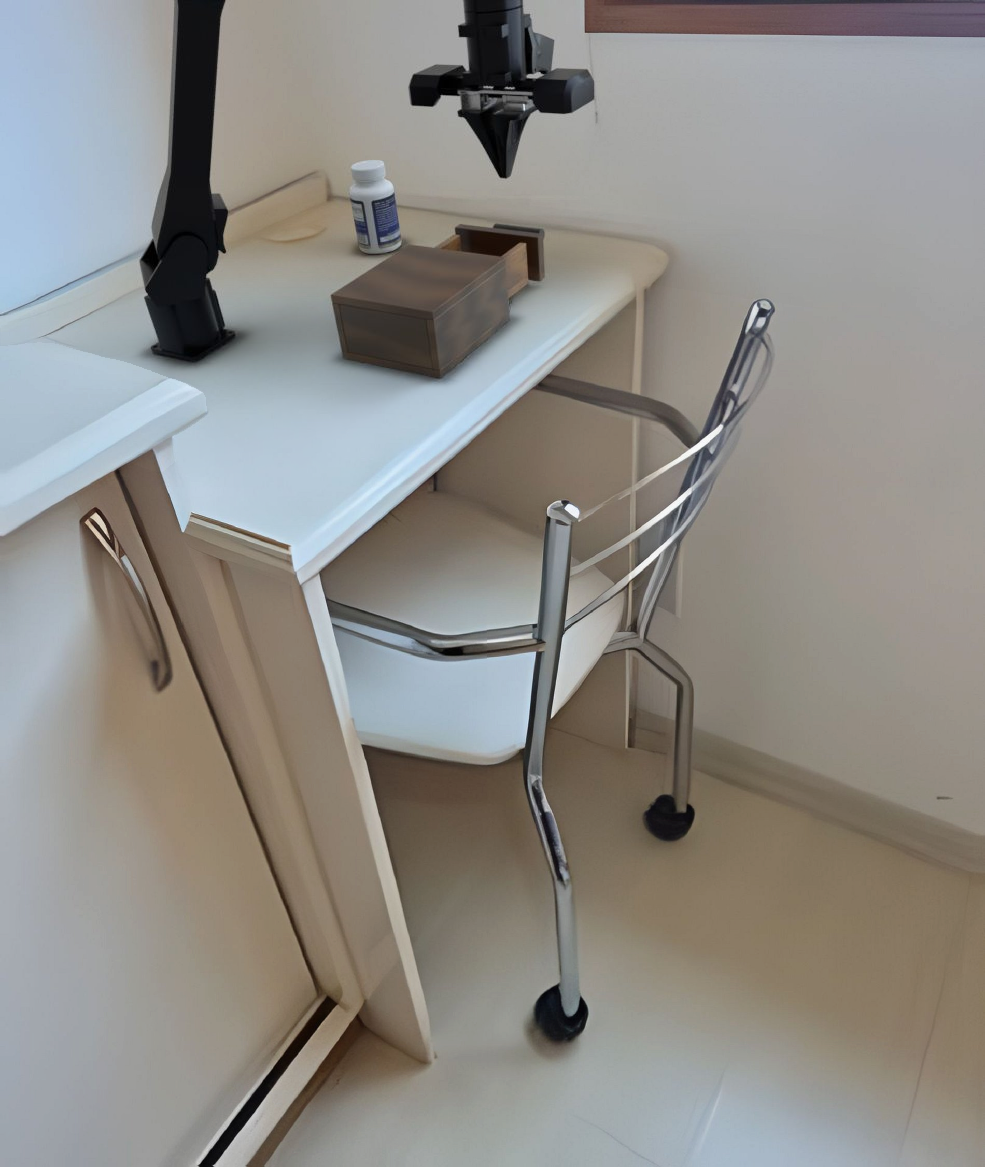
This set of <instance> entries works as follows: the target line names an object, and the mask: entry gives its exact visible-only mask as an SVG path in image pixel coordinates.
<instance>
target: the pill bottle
mask: <svg viewBox="0 0 985 1167" xmlns="http://www.w3.org/2000/svg"><path fill="white" fill-rule="evenodd" d="M350 170H351V172H350V173H351V177H352V180H353V181H354V183H353V184H352V185H351V186H350V188H349V199H350V205H351V211H352V217H353V221H354V228H355V233H356V240H357V243H358V248H359V250H360V251H361V252H363V253H365V254H368V255H369V254H370V255H377V254H386V253H390V252H393V251H395V250H397V249H399V248H400V247H401V245H402V241H403V240H402V233H401V228H400V227H401V226H400V220H399V213H398V206H397V201H396V193H395V187H394V185H393V183H392V182H391V181H390V180H388V179H386V178H385V177H386V175H387V174H386V173H387V172H386V165H385V162H384V161H383V160H379V159H367V160H362V161H358V162H355V163H354V164H352V165H351V166H350Z"/></svg>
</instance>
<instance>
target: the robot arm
mask: <svg viewBox="0 0 985 1167" xmlns="http://www.w3.org/2000/svg"><path fill="white" fill-rule="evenodd" d="M225 3H226V0H173V24H172V25H173V26H172V27H173V28H172V47H171V49H172V50H171V70H170V71H171V72H170V94H169V95H170V96H169V115H168V116H169V117H168V118H169V120H168V138H167V140H168V143H167V161H166V162H167V164H166V168H165V173H164V175H163V178H162V180H161V181H162V182H161V185H160V187H159V192H158V193H157V194H158V195H157V198H156V203H155V207H154V210H153V211H154V212H153V216H152V220H151V226H150V227H151V234H152V238H151V240H150V242H149V243H148V245H147V246H146V248H145V249H144V252H143V254H142V255H141V256H140V258H139V262H138V263H139V267H140V268H139V269H140V273H141V276H142V283H143V287H144V291H145V293H146V294H147V295H145V296H144V297H143V299H144V302H145V305H146V308H147V311H148V315H149V317H150V320H151V324H152V326H153V329H154V332H155V335H156V338H157V341H158V342H156V343H155V344H153V345H151V346H150V350H151V352H152V353H154V354H159V355H163V356H168V357H172V358H177V359H181V360H185V361H189V362H190V361H191V362H196V361H198V360H200V359H202V358H204V357H205V356H207V355H208V354H210V353H211V352H213V351H215V350H216V349H218V348H220V347H221V346H223V345H225V344H227V343H228V342H229V341H231V340H232V339H234V338H236V337H237V334H236V331H235V330H232V329H227V328H226V323H225V319H224V315H223V312H222V308H221V305H220V302H219V297H218V295H217V290H215V289H213V285H212V283H211V279H210V277H207V275H208V274H210V273H211V272H212V271H214V270H215V269H216V266H217V265H218V260H219V256H220V253H222V254H223V255H225V254H226V253H227V249H226V247H225V246H226V245H225V242H224V240H225V238H224V236H225V235H224V234H225V229H226V227H227V226H226V225H227V223H228V222H227V221H228V217H229V210H228V208H227V205H226V203H225V201H224V199H223V196H222V195H221V193H212V188H211V169H212V168H211V167H212V154H213V137H214V124H215V123H214V122H215V107H216V95H217V94H216V92H217V81H218V80H217V78H218V65H219V64H218V63H219V50H220V49H219V48H220V35H221V22H222V21H221V19H222V14H223V10H224V7H225ZM462 3H463V16H464V17H463V18H464V22H463V23H460V24H458V25H457V30H458V31H457V32H458V38H466V40H465V41H466V49H467V62H468V70H467V69H466V68H465V66H464V65H462V64H438V63H436V64H434V65H431V66H429V67H426V68H424V69H422V70H419V71H418V72H415V73H413V74H412V76H411V78H410V80H409V83H408V87H407V89H408V96H409V104H410V106H411V107H427V108H433V107H435V106H436V105H437V104H438V103H439V101H440V100H441V98H442V96H445V97H446V96H448V97H459V100H460V101H459V102H460V109H458V110H457V117H458V118H463V119H465V121H466V123H467V124H468V125H469V127H470V129H471V130H472V132H473V133H474V135H475V136H476V138H477V139H478V141H479V142H480V144H481V146H482V148H483V149H484V152H485V153H486V155H487V157H488V159H489V160H490V162H491V165H493V168H494V170H495V172H496V173H497V175H498V177H499V179H505V180H506V179H509V178H510V177H511V176H512V173H513V168H514V164H515V161H516V157H517V153H518V150H519V146H520V141H521V138H522V134H523V132H524V130H525V127H526V124H527V121H528V120H529V118H530V116H531V114H533V113H535V112H536V111H538V112H539V113H540V114H552V115H553V114H557V115H566V114H568V115H569V114H573V113H574V112H576V111H578V110H579V109H581V108H583V107H585V106H587V105H588V104H589V103H592V102H593V101H595V80H594V77H592V74H591V73H590V71H589V69H588V68H561V67H557V68H554V69H552V68H553V58H554V49H555V48H554V47H555V39H554V38H551V37H548V36H546V35H544V34H541V33H538V32H534V30H533V20H532V18H531V13H524V12H525V11H524V0H462ZM537 73H539V74H541V75H540V76H539V77H537V78H536V77H528V76H529V75H535V74H537Z"/></svg>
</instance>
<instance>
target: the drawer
mask: <svg viewBox="0 0 985 1167" xmlns="http://www.w3.org/2000/svg"><path fill="white" fill-rule="evenodd" d="M545 234H546V232H545V229H544V228H541V227H531V226H530V227H529V226H522V225H513V224H504V223H494V224H493V226H492V227H489V226H480V225H471V224H463V223H460V224H458V225H457V226H455V227H454V234H452V235H450V236H449V237H447V238H446V239H445V240H444V241H442V242H440V243H439V244H437V245H436V246H434V247H433V248H439V249H447V250H454V251H462V252H469V253H477V254H484V255H492V256H499V257H505V258H506V272H507V286H508V300H509V299H510V298H512V297H513V296H514V295H516V294H517V293H518V292H519V291H520V290H522V289H523V288H524V287H525V286H527V284H529V281H534V282H542V281H543V280H545V278H546V269H545V246H544V239H545Z"/></svg>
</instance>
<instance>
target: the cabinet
mask: <svg viewBox="0 0 985 1167" xmlns="http://www.w3.org/2000/svg"><path fill="white" fill-rule="evenodd" d="M330 299H331V305H332V310H333V315H334V319H335V325H336V330H337V335H338V340H339V345H340V349H341V355H342V359H345V360H349V361H355V362H358V363H364V364H369V365H375V366H378V367H383V368H389V369H392V370H393V369H394V370H398V371H403V372H408V373H414V374H417V375H423V376H428V377H432V378H437V379H442V378H443V377H444V376H445V375H446V374H448V373H449V372H450V371H451V370H452V369H454V368H455V367H456V366H457V365H458V364H459V363H461V362H462V361H463V360H464V359H465V358H467V357H468V356H469V355H470V354H472V352H474V351H475V350H476V349H477V348H479V346H481V345H483V343H484V342H486V341H487V340H488V339H489V338H491V337H492V336H493V335H494V334H495V333H497V332H498V331H499V330H500V329H501V328H502V327H504V326H505V325H506V324H507V323H508V322H510V321H511V315H510V305H509V304H510V302H509V299H508V286H507V272H506V258H505V257H499V256H492V255H484V254H477V253H469V252H462V251H454V250H447V249H439V248H434V247H430V246H424V245H417V244H416V245H415V244H408V245H406V246H405V247H403V248H401V249H400V250H397V252H395V253H394V254H392V255H390V256H389V257H387V258H386V259H384V260H383V261H381V262H379V263H378V264H376V265H375V266H373V267H372V268H370V269H368V270H367V271H365V272H364V273H363V274H361V275H359V276H357V277H356V278H355V279H353V280H351V281H350V282H348V283H347V284H344V285H343V286H342V287H340V288H339V289H337V290H336V291H334V292H333V293H331V294H330Z"/></svg>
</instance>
